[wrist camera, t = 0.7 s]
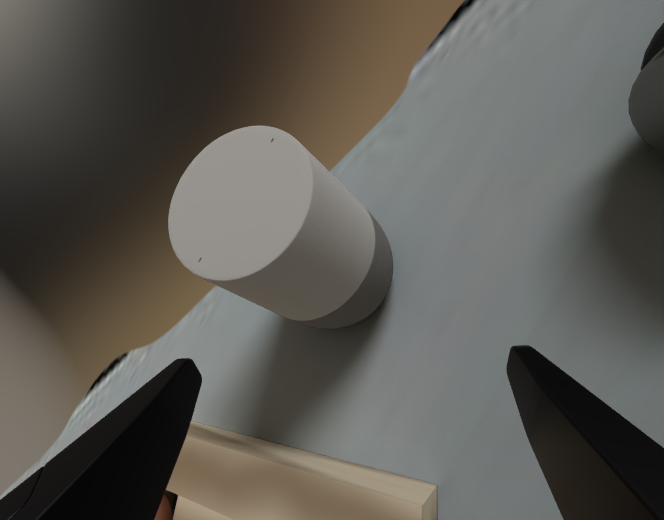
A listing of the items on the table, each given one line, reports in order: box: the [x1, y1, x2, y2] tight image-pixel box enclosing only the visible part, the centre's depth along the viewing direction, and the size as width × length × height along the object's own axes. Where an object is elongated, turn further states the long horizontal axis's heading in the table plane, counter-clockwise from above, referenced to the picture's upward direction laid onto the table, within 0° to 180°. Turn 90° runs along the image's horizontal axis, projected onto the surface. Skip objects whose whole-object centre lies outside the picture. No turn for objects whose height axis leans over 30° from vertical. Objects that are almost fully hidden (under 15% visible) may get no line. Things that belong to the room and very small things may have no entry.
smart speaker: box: [168, 126, 393, 329], centre depth 20 cm, size 10×9×14 cm
